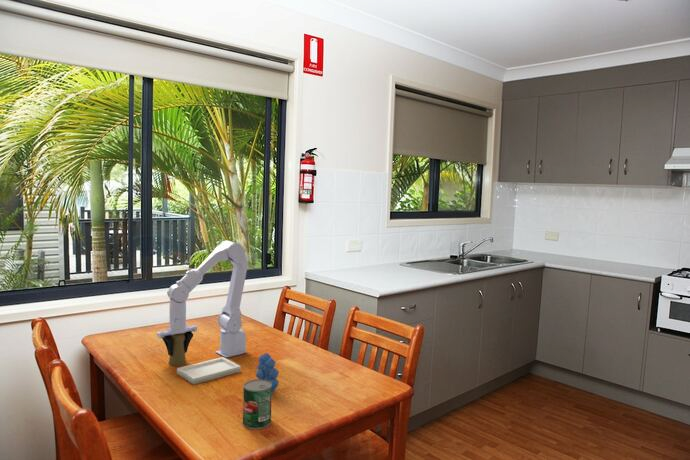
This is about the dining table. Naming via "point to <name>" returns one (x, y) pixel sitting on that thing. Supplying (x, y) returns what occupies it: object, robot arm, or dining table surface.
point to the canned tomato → (257, 404)
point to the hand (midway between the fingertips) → (177, 353)
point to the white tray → (208, 370)
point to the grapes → (267, 370)
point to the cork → (178, 350)
